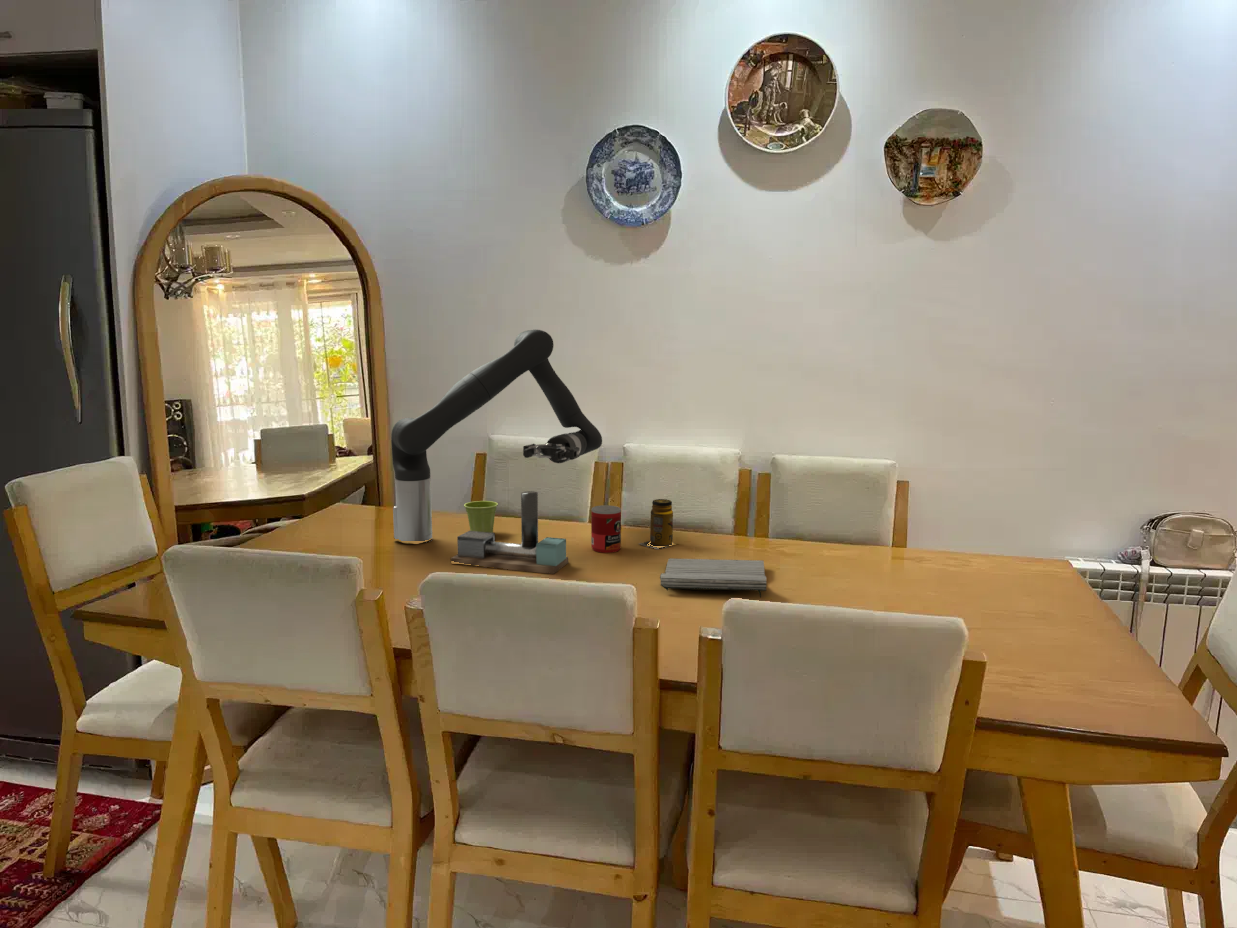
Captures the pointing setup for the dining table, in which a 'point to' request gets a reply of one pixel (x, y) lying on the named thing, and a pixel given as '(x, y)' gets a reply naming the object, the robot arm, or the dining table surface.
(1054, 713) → the dining table surface
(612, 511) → the canned food
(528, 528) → the slide bolt
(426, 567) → the dining table surface
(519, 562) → the board
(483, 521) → the plant pot
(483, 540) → the sleeve
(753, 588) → the mat
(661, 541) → the condiment
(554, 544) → the socket block
